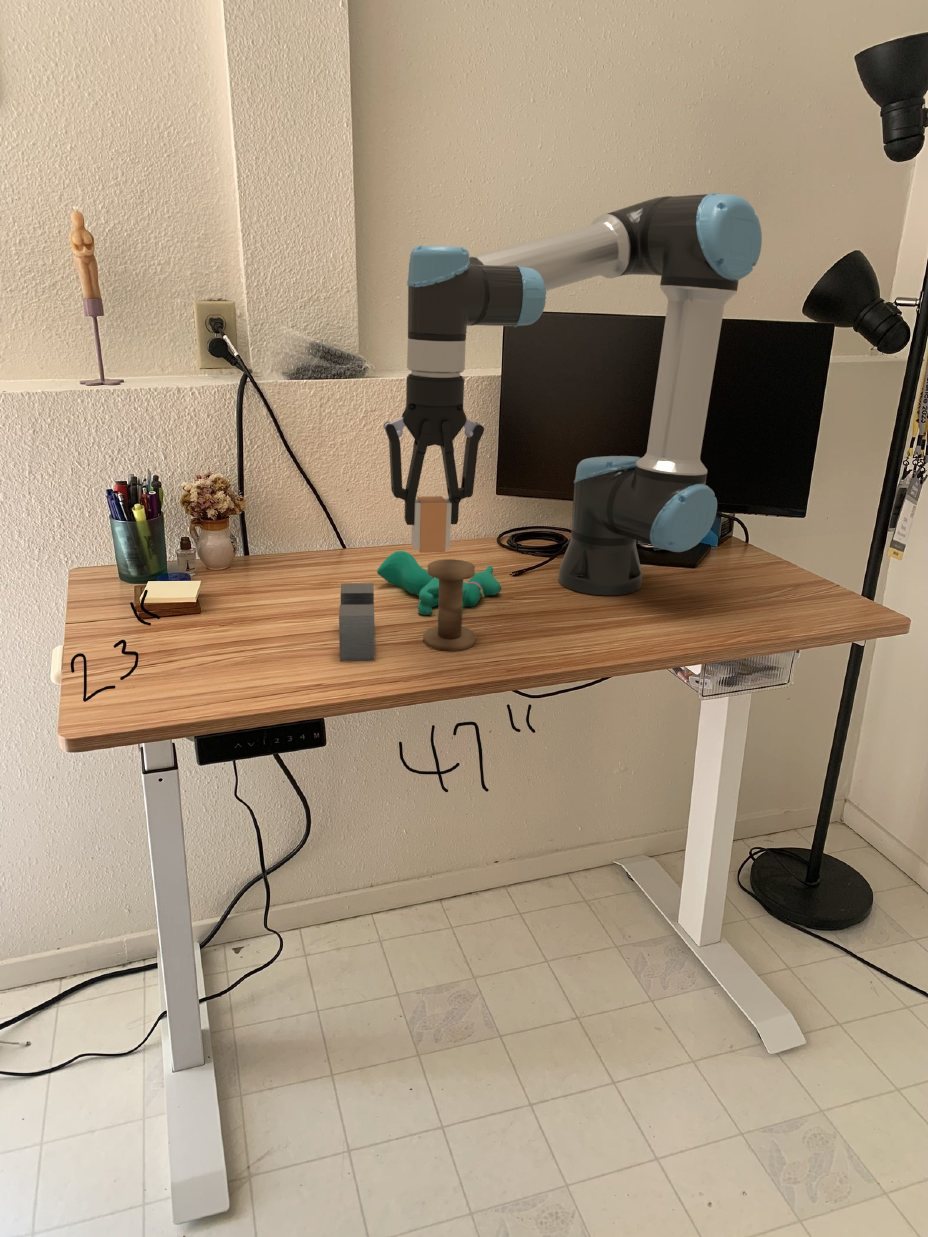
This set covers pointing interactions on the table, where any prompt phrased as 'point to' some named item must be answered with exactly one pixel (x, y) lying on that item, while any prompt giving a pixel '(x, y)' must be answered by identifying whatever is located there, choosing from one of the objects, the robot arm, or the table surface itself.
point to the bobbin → (450, 606)
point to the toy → (433, 582)
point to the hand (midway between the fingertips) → (430, 546)
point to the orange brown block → (432, 524)
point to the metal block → (357, 622)
